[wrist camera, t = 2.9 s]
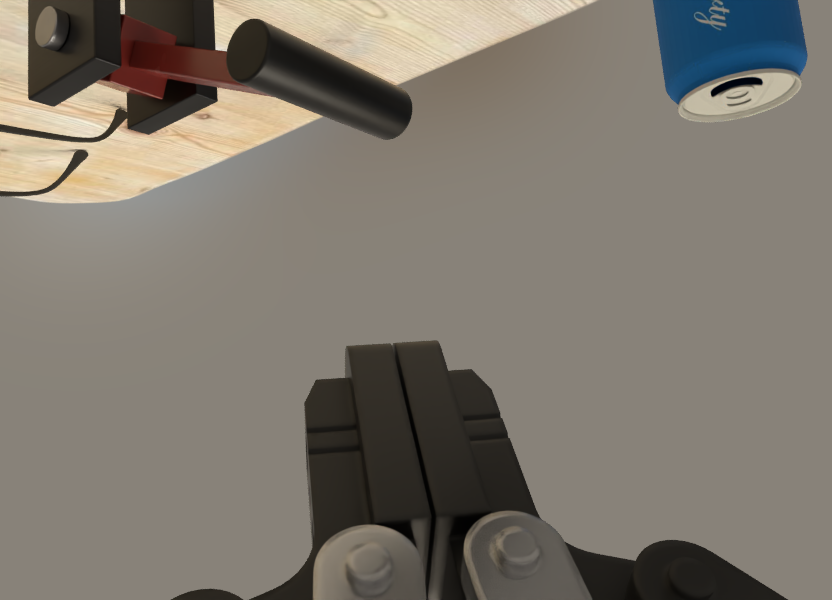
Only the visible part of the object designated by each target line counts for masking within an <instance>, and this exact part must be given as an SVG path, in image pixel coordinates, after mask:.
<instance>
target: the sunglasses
mask: <svg viewBox="0 0 832 600" xmlns="http://www.w3.org/2000/svg"><path fill="white" fill-rule="evenodd" d="M125 119H127V112H126V111H124V110H121V109H117V110H116V113H115V116H114V119H113V121H112V123H111V125H110V127H109V128H108V129H107V130H106V132H105V133H103V134H102V135H100V136H98V137H94V138H80V137H71V136H64V135H58V134H52V133H46V132H41V131H35V130H29V129H23V128H17V127H12V126H7V125H2V124H0V132H6V133H12V134H19V135H25V136H32V137H39V138H46V139H53V140H61V141H70V142H98V141H101V140H104V139H105V138H107V137H108V136H110V135H111V134H112V133H113V132H114V131H115V130H116V129H117V128H118V126H119V125H120V124H121V123H122V122H123V121H124V120H125ZM87 157H88V153H87V152H86V151H82V150H79V151H76V152H75V153H74V155H73V158H72V160H71V162H70V164H69V165H68V167H67V168H66V170H65V171H64V173H63V174H62V175H61V176H60V178H59V179H58V180H57V181H56V182H54V183H53V184H52V185H50V186H49V187H47V188H45V189H42V190H38V191H30V192H7V191H0V196H31V195H39V194H43V193H47V192H49V191H51V190H53V189H55V188H56V187H57V186H58V185H60V184H61V183H62V182H63V181H64V180H65V179H66V178H67V177H68V176H69V175H70V174H71V173H72V172H73V171H74V170H75V169H76V168H77V167H78V166H79V165H80V163H81V162H82V161H84V160H85V159H86V158H87Z"/></svg>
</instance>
